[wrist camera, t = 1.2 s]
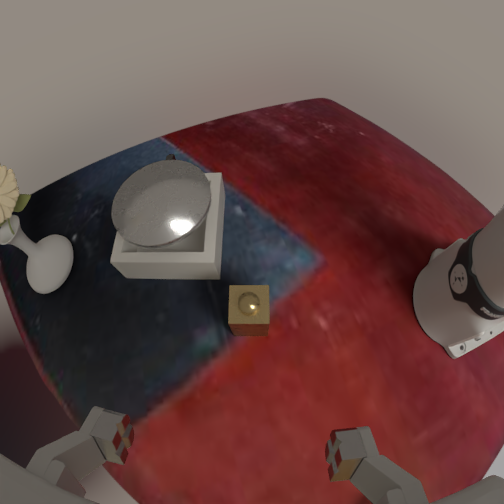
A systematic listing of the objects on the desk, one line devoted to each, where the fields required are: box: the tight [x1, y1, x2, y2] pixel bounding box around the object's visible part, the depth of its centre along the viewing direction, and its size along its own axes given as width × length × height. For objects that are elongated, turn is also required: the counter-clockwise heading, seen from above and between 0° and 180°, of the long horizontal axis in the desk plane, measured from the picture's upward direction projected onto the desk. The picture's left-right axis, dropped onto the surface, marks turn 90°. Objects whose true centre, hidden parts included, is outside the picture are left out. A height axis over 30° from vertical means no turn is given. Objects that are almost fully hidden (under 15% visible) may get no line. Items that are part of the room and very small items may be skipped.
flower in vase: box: [0, 164, 73, 294], centre depth 33 cm, size 13×11×25 cm
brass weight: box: [228, 285, 269, 336], centre depth 36 cm, size 4×4×9 cm
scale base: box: [110, 173, 225, 280], centre depth 43 cm, size 15×15×6 cm
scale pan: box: [112, 154, 211, 249], centre depth 40 cm, size 14×16×6 cm
